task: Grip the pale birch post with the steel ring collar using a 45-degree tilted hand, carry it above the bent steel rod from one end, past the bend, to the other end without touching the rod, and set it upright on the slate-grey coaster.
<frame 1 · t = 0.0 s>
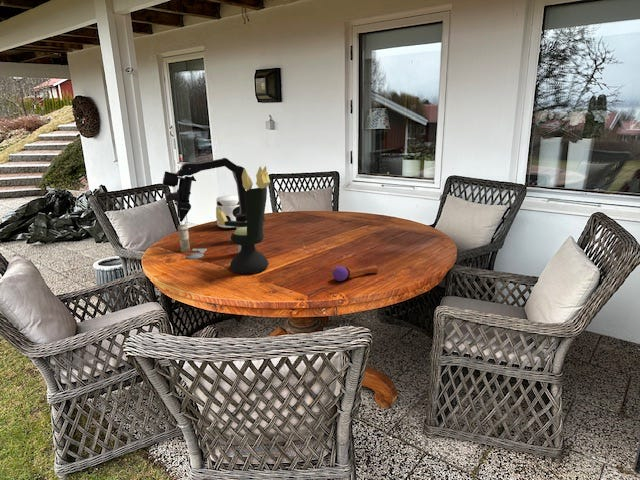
hand: (179, 219, 210), 15 cm above the table, tool pointing down, fingers open, 9 cm apart
ringed post: (185, 250, 212), on the table
milk container: (232, 227, 256), on the table
bent rod: (205, 250, 211), on the table
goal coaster: (195, 256, 203), on the table
travel mug: (245, 254, 205), on the table
candelabra: (253, 269, 184), on the table
kendama: (355, 277, 172), on the table
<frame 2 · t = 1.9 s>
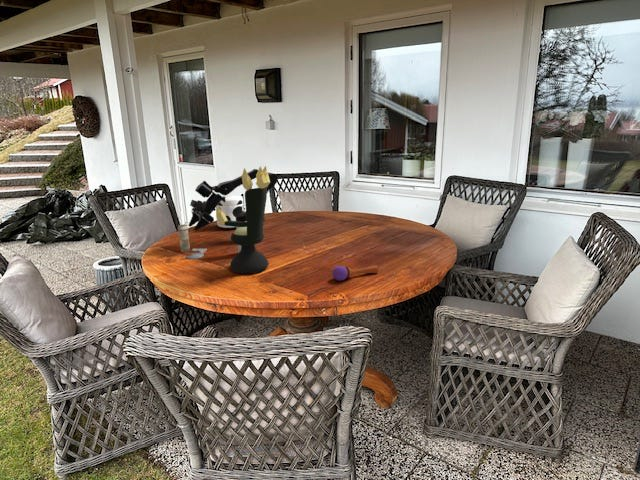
hand: (191, 228, 211), 11 cm above the table, tool tilted 45°, fingers open, 9 cm apart
nothing on the table moved.
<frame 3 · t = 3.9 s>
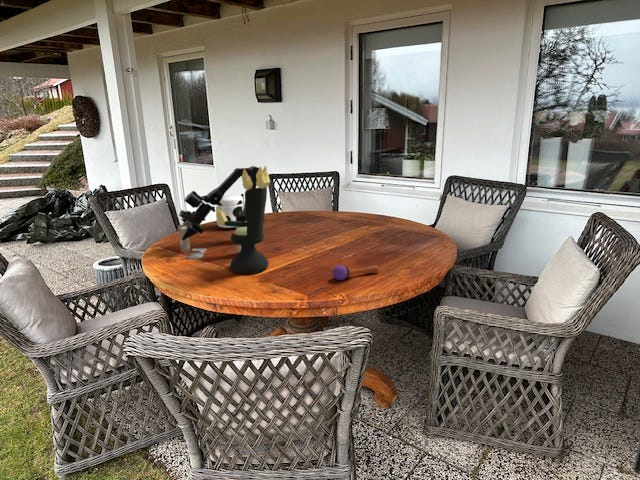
hand: (181, 238, 209), 7 cm above the table, tool tilted 45°, fingers closed on ringed post, 4 cm apart
ringed post: (185, 250, 212), on the table, touching gripper
everything else where it was.
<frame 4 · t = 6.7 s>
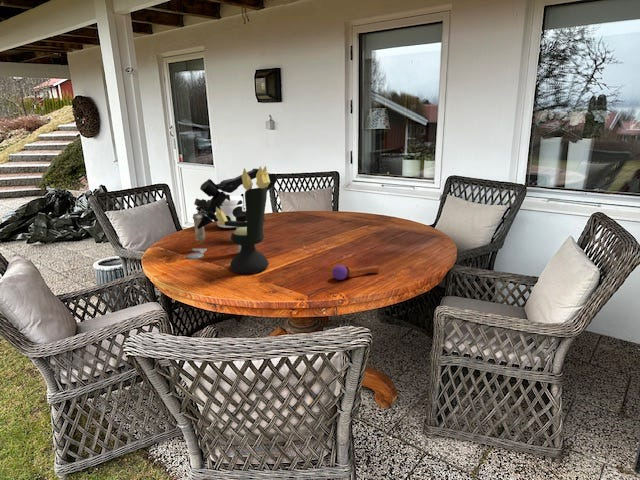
hand: (196, 227, 207), 12 cm above the table, tool tilted 45°, fingers closed on ringed post, 4 cm apart
ringed post: (200, 239, 210), point 6 cm above the table, touching gripper
everything else where it was.
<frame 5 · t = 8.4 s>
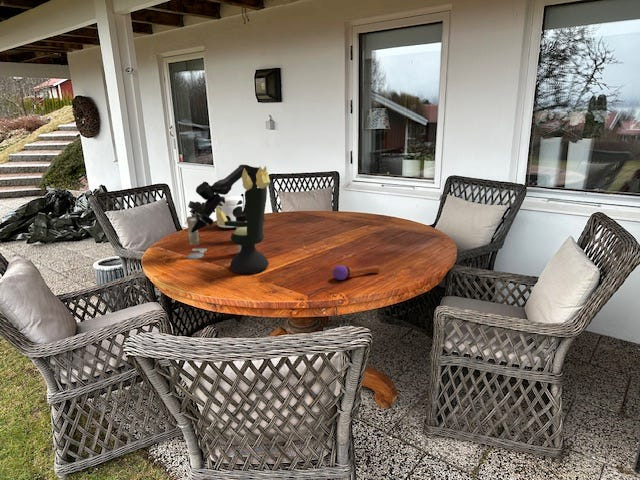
hand: (190, 230, 199), 13 cm above the table, tool tilted 45°, fingers closed on ringed post, 4 cm apart
ringed post: (194, 243, 202), point 6 cm above the table, touching gripper
everything else where it was.
when the fingers open (8 cm above the table, at t = 9.9 s): ringed post drops 1 cm, resting on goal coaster.
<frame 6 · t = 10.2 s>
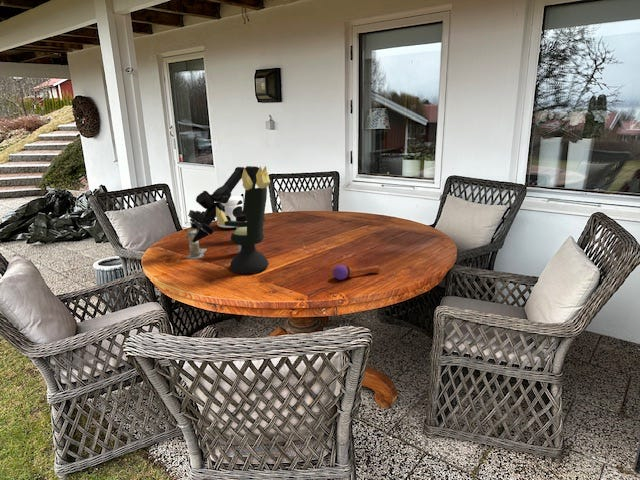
hand: (190, 239, 199), 9 cm above the table, tool tilted 45°, fingers open, 8 cm apart
ringed post: (195, 255, 202), point 1 cm above the table, touching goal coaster
everything else where it was.
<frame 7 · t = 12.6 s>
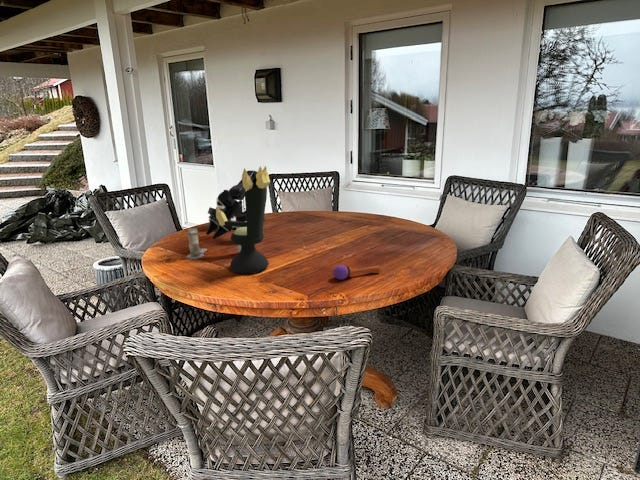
hand: (209, 236, 204), 9 cm above the table, tool tilted 45°, fingers open, 9 cm apart
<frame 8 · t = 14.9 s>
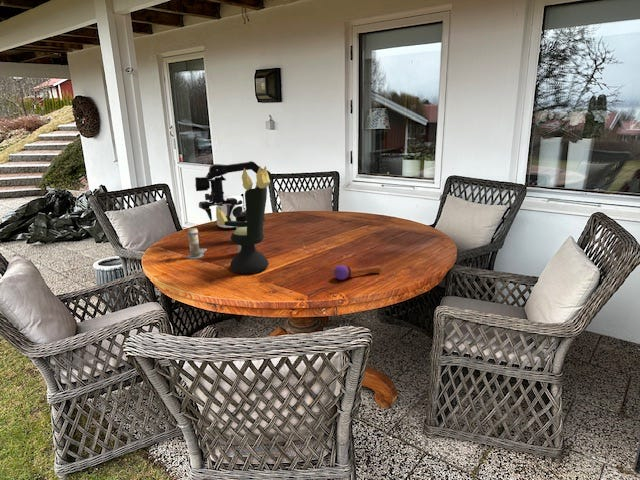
hand: (219, 219, 218), 13 cm above the table, tool pointing down, fingers open, 9 cm apart
at the end: ringed post 0.1 cm off-centre on the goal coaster, point 0.5 cm above the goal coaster's base; ringed post tilted 0°; bent rod moved 0.0 cm from its start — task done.
